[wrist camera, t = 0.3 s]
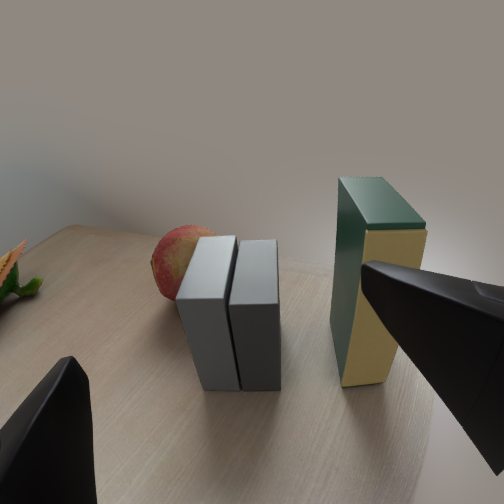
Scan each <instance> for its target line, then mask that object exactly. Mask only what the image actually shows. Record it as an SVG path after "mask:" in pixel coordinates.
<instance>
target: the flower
mask: <svg viewBox="0 0 504 504" xmlns="http://www.w3.org/2000/svg"><path fill="white" fill-rule="evenodd" d="M25 242H26V240H24V241H23V242H22V243H21V244H20V245H18V246H17V247H16V248H14V249H13V250H10V251H9V252H8V253H7V254H5V255H4V256H3V257H1V258H0V302H2V301H3V300H4V299H5V298H6V297H7V296H8V295H9V294H10V293H12V292H13V293H15V294H17V295H18V296H21V297H22V296H25V295H27V294H29V295H31V296H33V295H34V294H35V293H36V291H37V290H38V289H39V287H40V285H41V284H42V281H43V277H37V276H36V277H33V278H32V279H31V280H30V281H29V282H28V283H27V284H26V285H24V286H21V285H20V284H19V283H18V278H19V269H18V262H17V260H18V259H17V258H18V257H19V256H20V255H21V254H22V253H21V251H22V250H23V249H24V248H25V247H24V246H25V245H26V244H25Z"/></svg>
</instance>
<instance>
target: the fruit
mask: <svg viewBox="0 0 504 504" xmlns="http://www.w3.org/2000/svg"><path fill="white" fill-rule="evenodd" d="M214 236H217V235H216V234H215V233H213V232H212V231H210V230H209V229H207V228H204V227H202V226H199V225H186V226H182V227H179V228H176V229H174V230H172V231H170V232H169V233H167V234H166V235H165V236H164V237H163V238H162V239H161V240H160V242H159V244H158V245H157V247H156V248H155V251H154V253H153V255H152V260H151V262H150V263H151V266H152V270H153V275H154V278H155V281H156V283H157V286H158V288H159V290H160V292H161V294H162V295H163V296H165V297H167V298H168V299H171V300H173V301H176V300H175V299H176V296H177V294H178V291H179V288H180V286H181V283H182V281H183V278H184V276H185V273H186V271H187V268H188V265H189V263H190V260H191V258H192V256H193V253H194V251H195V248H196V246H197V243H198V241H199V238H200V237H214Z"/></svg>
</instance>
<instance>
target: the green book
mask: <svg viewBox="0 0 504 504" xmlns="http://www.w3.org/2000/svg"><path fill="white" fill-rule="evenodd" d="M425 226H426V222H425V221H424V220H423V219H422V218H421V217H420V215H419V214H418V213H417V212H416V211H415V210H414V209H413V208H412V207H411V206H410V205H409V204H408V203H407V202H406V200H405V199H404V198H403V197H402V196H401V195H400V194H399V193H398V192H397V191H396V190H395V189H394V188H393V187H392V186H391V185H390V184H389V183H388V182H387V181H386V180H385V179H384V178H383V177H339V178H338V211H337V234H336V250H335V265H334V278H333V290H332V301H331V312H330V324H331V330H332V335H333V341H334V346H335V352H336V357H337V363H338V369H339V375H340V381H341V387H348V386H358V385H367V384H375V383H383V382H385V381H386V379H387V376H388V373H389V371H390V368H391V365H392V362H393V359H394V357H395V354H396V351H397V348H398V345H399V344H398V343H397V342H396V341H395V339H394V338H393V337H392V336H391V335H390V333H389V332H388V331H387V329H386V328H385V327H384V325H383V324H382V322H381V321H380V319H379V317H378V316H377V314H376V313H375V311H374V310H373V308H372V307H371V305H370V304H369V302H368V301H367V299H366V298H365V296H364V295H363V293H362V290H361V273H360V268H361V265H362V264H363V263H366V262H368V261H371V260H376V261H381V262H386V263H391V264H396V265H400V266H405V267H410V268H415V269H420V266H421V261H422V257H423V252H424V247H425V242H426V237H427V230H426V229H425Z"/></svg>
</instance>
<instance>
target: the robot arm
mask: <svg viewBox="0 0 504 504" xmlns="http://www.w3.org/2000/svg"><path fill="white" fill-rule="evenodd" d="M360 273H361V290H362V293H363V295H364V296H365V298H366V299H367V301H368V302H369V304H370V305H371V307H372V308H373V310H374V311H375V313H376V314H377V316H378V317H379V319H380V321H381V322H382V324H383V325H384V327H385V328H386V329H387V331H388V332H389V333H390V335H391V336H392V337H393V338H394V339H395V341H396V342H397V343H398V344H399V346H400V347H401V348H402V349H403V351H404V352H405V353H406V354H407V356H408V357H409V358H410V359H411V361H412V362H413V363H414V364H415V366H416V367H417V368H418V369H419V371H420V372H421V373H422V375H423V376H424V377H425V378H426V380H427V381H428V382H429V384H430V385H431V386H432V388H433V389H434V390H435V391H436V393H437V394H438V395H439V397H440V398H441V399H442V401H443V402H444V403H445V405H446V406H447V407H448V409H449V410H450V411H451V412H452V414H453V415H454V417H455V418H456V419H457V421H458V422H459V424H460V425H461V426H462V427H463V429H464V431H465V432H466V433H467V435H468V436H469V437H470V439H471V440H472V442H473V443H474V445H475V446H476V448H477V449H478V450H479V452H480V453H481V455H482V456H483V457H484V459H485V460H486V462H487V463H488V465H489V466H490V468H491V469H492V471H493V472H494V473H495V475H496V476H498V475H499V474H500V473H501V472H502V471H503V470H504V287H503V286H497V285H491V284H486V283H481V282H477V281H471V280H467V279H462V278H458V277H453V276H449V275H444V274H439V273H434V272H430V271H424V270H420V269H415V268H410V267H405V266H400V265H396V264H391V263H386V262H381V261H376V260H371V261H368V262H366V263H363V264H362V265H361V268H360ZM0 504H97V495H96V485H95V472H94V453H93V422H92V412H91V401H90V389H89V380H88V377H87V375H86V373H85V372H84V370H83V369H82V367H81V366H80V364H79V363H78V362H77V360H76V359H75V358H74V357H73V356H68V357H64V358H61V359H60V360H59V361H58V362H57V363H56V364H55V365H54V367H53V368H52V369H51V370H50V371H49V372H48V373H47V375H46V376H45V377H44V378H43V379H42V380H41V381H40V383H39V384H38V385H37V386H36V387H35V388H34V390H33V391H32V392H31V393H30V394H29V395H28V397H27V398H26V399H25V400H24V401H23V403H22V404H21V405H20V406H19V407H18V409H17V410H16V411H15V412H14V413H13V415H12V416H11V417H10V418H9V420H8V421H7V422H6V423H5V425H4V426H3V427H2V428H1V430H0Z"/></svg>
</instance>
